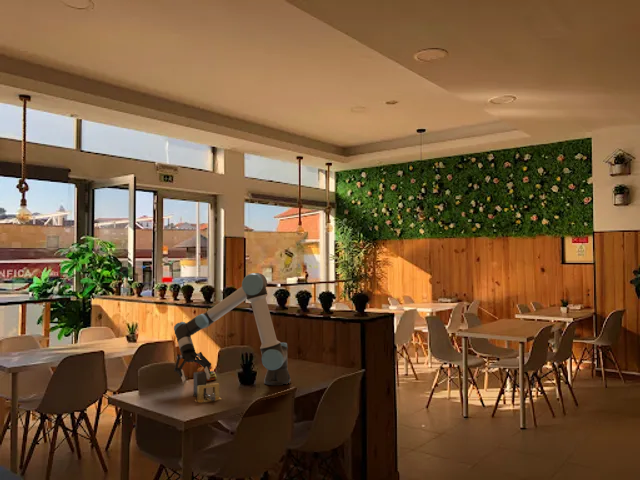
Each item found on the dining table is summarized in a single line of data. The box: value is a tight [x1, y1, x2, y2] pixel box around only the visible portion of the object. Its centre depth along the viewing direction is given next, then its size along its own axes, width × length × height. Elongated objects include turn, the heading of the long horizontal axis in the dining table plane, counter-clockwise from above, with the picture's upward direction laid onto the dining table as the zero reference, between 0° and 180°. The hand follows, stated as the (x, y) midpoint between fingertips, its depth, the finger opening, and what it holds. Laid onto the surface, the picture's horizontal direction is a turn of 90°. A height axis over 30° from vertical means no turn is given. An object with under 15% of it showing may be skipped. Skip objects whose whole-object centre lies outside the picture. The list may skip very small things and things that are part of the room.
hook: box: [192, 371, 216, 402], centre depth 275 cm, size 5×21×12 cm, turn 35°
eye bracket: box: [194, 382, 223, 404], centre depth 273 cm, size 12×6×8 cm, turn 125°
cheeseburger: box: [196, 365, 217, 382], centre depth 320 cm, size 10×11×10 cm
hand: (196, 379), depth 283 cm, fingers open, 13 cm apart
